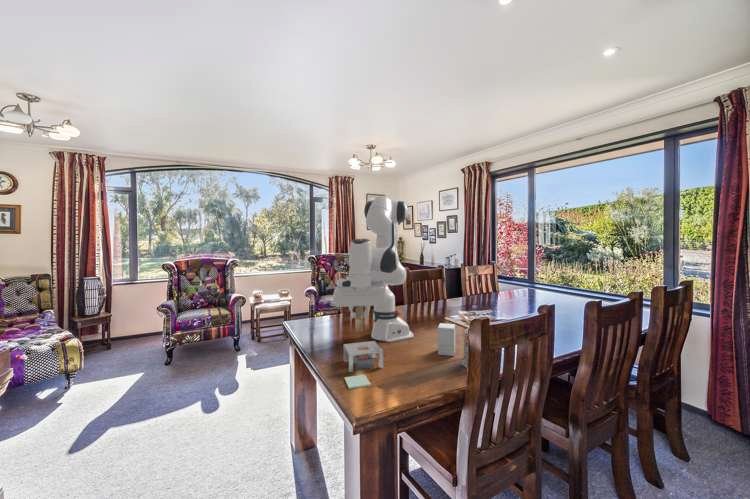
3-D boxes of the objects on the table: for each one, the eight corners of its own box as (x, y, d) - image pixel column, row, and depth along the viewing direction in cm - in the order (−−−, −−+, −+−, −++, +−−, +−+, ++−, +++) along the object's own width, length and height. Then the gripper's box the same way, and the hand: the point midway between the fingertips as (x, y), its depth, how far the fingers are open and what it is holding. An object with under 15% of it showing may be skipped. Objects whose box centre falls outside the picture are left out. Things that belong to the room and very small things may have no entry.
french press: (472, 371, 126) (472, 308, 125) (453, 360, 137) (454, 303, 135) (491, 366, 130) (492, 306, 129) (471, 356, 141) (472, 300, 139)
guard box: (374, 356, 141) (374, 340, 140) (383, 367, 129) (383, 350, 129) (343, 360, 137) (343, 344, 136) (349, 372, 125) (349, 354, 125)
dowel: (361, 329, 123) (362, 303, 123) (363, 331, 120) (364, 305, 120) (354, 329, 122) (354, 304, 122) (356, 332, 119) (356, 305, 119)
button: (367, 361, 135) (367, 354, 135) (369, 365, 131) (369, 358, 130) (356, 362, 133) (356, 355, 133) (359, 366, 129) (359, 359, 129)
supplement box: (455, 350, 148) (455, 324, 147) (454, 356, 141) (454, 328, 140) (439, 348, 150) (439, 322, 150) (437, 354, 143) (437, 327, 143)
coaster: (364, 376, 122) (364, 374, 122) (370, 385, 114) (370, 384, 114) (344, 378, 120) (344, 377, 120) (348, 388, 112) (348, 387, 112)
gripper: (383, 280, 127) (382, 314, 127) (332, 280, 121) (331, 316, 121) (388, 282, 121) (387, 318, 121) (335, 282, 115) (334, 320, 115)
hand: (359, 317), depth 121 cm, fingers closed on dowel, 3 cm apart
